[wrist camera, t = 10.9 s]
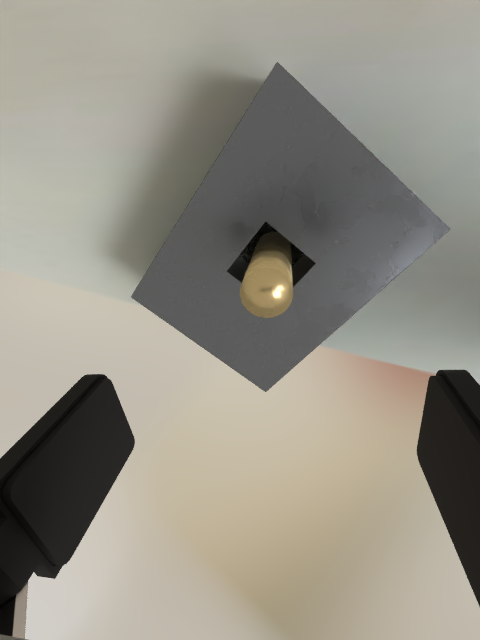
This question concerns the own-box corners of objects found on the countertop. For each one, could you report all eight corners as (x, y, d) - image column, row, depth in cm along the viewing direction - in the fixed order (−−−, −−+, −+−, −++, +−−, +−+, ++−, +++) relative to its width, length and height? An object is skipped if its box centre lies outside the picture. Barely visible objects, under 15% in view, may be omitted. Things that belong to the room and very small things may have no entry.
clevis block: (419, 216, 23) (450, 229, 19) (268, 359, 31) (265, 392, 27) (279, 83, 20) (277, 61, 16) (155, 276, 28) (130, 297, 24)
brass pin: (298, 246, 25) (304, 290, 17) (275, 273, 27) (270, 327, 18) (270, 224, 25) (261, 257, 16) (249, 252, 26) (229, 297, 17)
